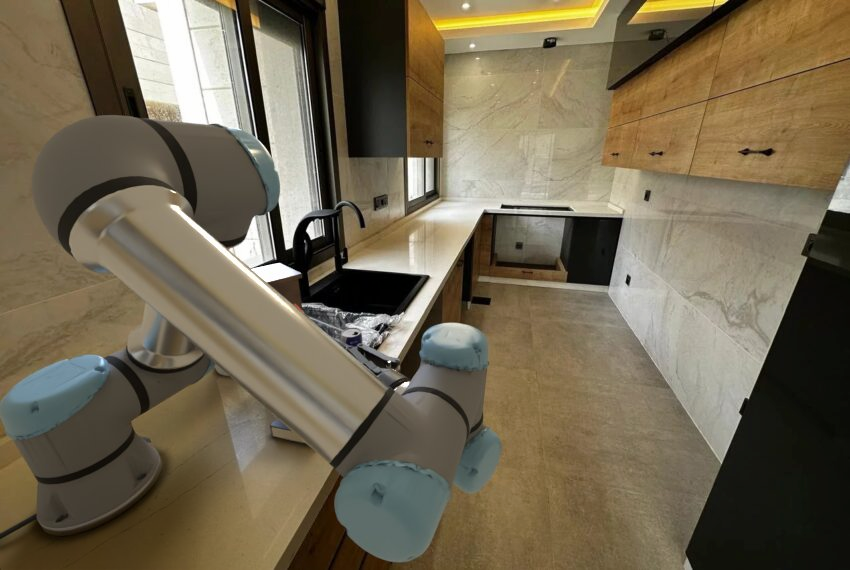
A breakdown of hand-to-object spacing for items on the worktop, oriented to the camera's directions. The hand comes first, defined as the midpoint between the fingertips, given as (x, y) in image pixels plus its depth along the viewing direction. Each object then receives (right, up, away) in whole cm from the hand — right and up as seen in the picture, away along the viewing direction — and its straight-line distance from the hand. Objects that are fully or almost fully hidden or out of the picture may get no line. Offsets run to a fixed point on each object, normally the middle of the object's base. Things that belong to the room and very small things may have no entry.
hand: (317, 344), depth 63 cm
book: (-4, -18, +10) cm, 21 cm away
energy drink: (+2, -12, +25) cm, 28 cm away
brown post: (-14, -14, +19) cm, 27 cm away
